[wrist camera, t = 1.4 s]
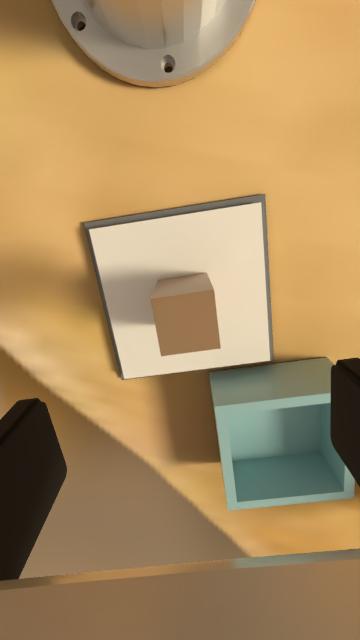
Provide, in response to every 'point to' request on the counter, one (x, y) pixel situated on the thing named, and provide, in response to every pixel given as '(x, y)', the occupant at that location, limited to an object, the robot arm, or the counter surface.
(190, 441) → the counter surface
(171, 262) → the lid
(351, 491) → the dish
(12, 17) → the counter surface
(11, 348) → the counter surface
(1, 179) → the counter surface
